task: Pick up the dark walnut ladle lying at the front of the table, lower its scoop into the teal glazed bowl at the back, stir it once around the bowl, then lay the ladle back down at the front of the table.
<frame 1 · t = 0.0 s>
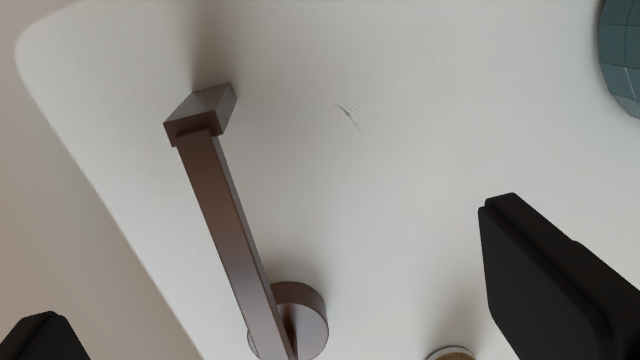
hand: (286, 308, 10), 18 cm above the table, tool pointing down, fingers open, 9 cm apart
ladle: (247, 193, 29), on the table
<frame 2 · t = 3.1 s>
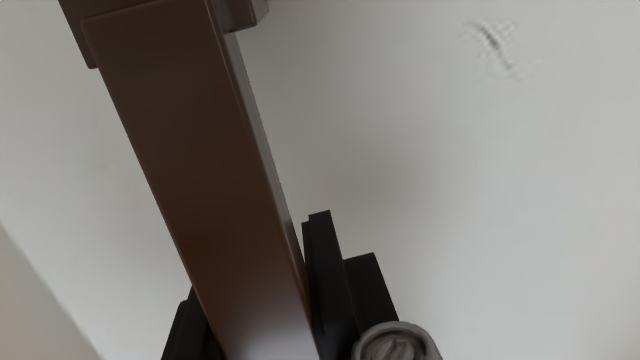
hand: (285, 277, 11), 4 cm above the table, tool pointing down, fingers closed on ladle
ladle: (284, 205, 15), on the table, touching gripper
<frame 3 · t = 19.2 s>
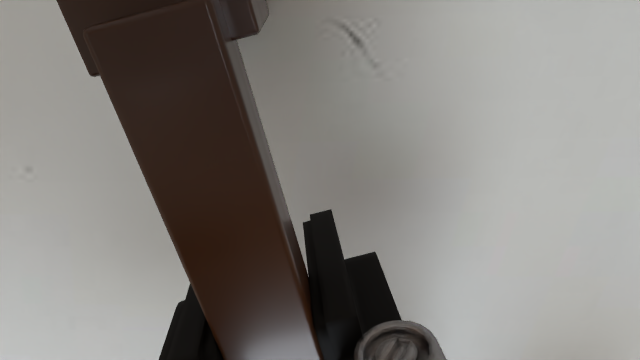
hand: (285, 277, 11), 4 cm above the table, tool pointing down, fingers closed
ladle: (284, 208, 15), on the table
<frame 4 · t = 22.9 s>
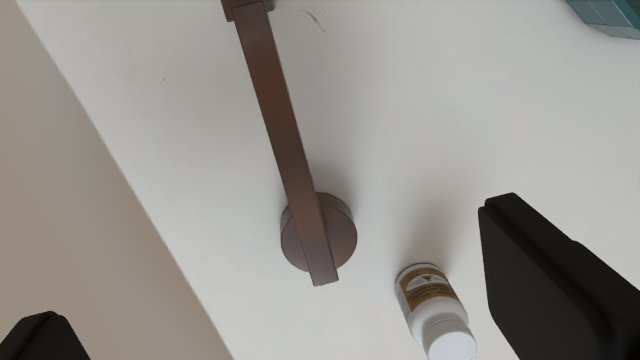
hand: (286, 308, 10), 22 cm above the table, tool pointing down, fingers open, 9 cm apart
pill bottle: (418, 282, 37), on the table
ladle: (282, 101, 30), on the table
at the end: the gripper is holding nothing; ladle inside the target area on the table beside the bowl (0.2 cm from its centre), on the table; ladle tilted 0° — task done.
